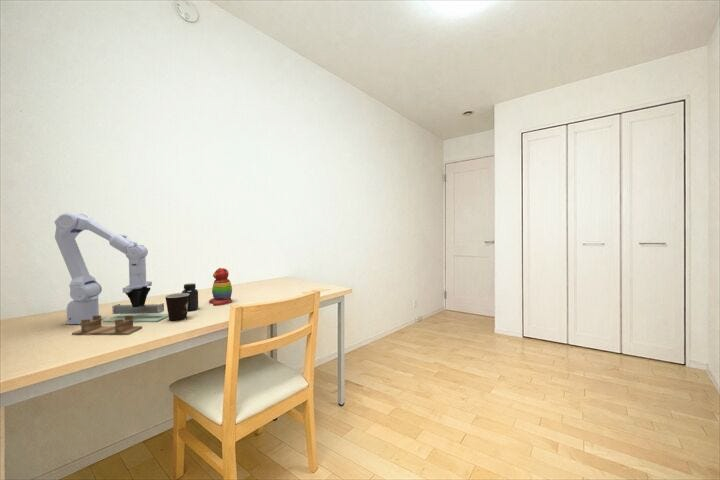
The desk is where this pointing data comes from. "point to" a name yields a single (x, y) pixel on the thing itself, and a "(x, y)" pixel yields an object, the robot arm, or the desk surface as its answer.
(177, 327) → the desk surface
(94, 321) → the stand
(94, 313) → the robot arm
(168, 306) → the coffee mug
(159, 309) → the rail
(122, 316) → the mat
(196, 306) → the supplement bottle
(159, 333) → the desk surface
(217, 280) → the stacking bear
